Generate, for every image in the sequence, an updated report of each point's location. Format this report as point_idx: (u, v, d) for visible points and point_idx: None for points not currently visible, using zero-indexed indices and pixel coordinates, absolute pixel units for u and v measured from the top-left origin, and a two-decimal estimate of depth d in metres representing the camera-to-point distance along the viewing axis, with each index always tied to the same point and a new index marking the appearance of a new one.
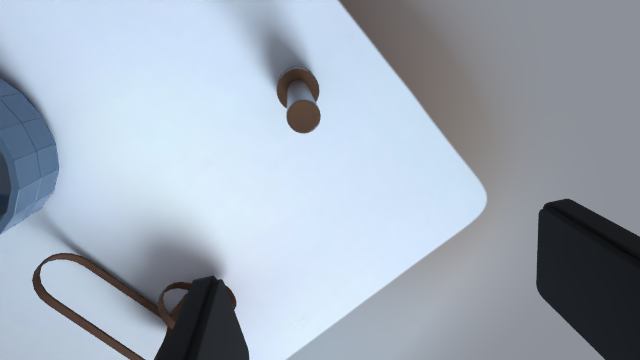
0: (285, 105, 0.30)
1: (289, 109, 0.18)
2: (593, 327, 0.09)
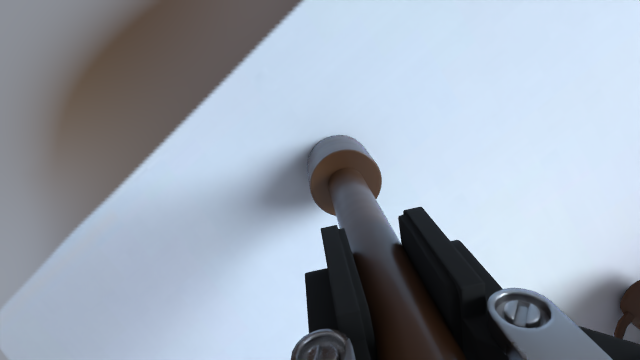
0: None
1: None
2: None
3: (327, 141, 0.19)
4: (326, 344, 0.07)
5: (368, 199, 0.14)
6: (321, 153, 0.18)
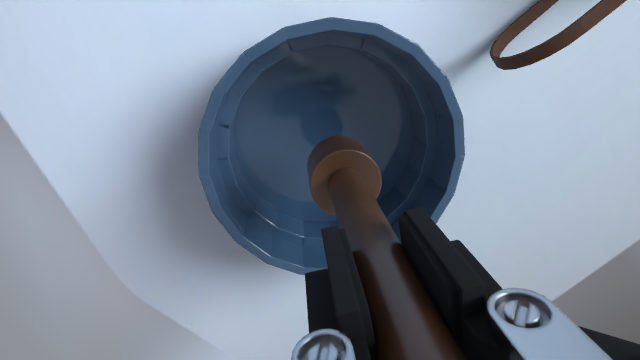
0: None
1: None
2: None
3: (326, 141, 0.19)
4: (326, 344, 0.07)
5: (368, 199, 0.14)
6: (321, 153, 0.18)
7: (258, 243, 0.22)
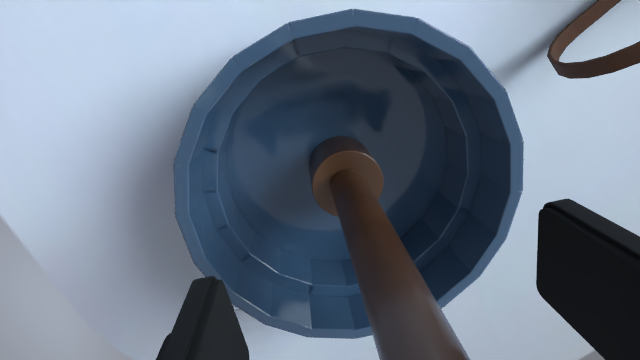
0: None
1: None
2: (593, 327, 0.09)
3: (328, 142, 0.19)
4: None
5: (371, 200, 0.14)
6: (323, 154, 0.18)
7: (254, 299, 0.17)
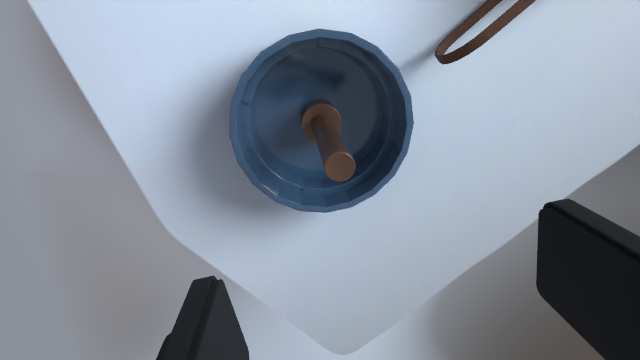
0: None
1: (332, 179, 0.20)
2: (593, 327, 0.09)
3: (311, 102, 0.33)
4: None
5: (329, 123, 0.27)
6: (308, 107, 0.32)
7: (269, 187, 0.31)
